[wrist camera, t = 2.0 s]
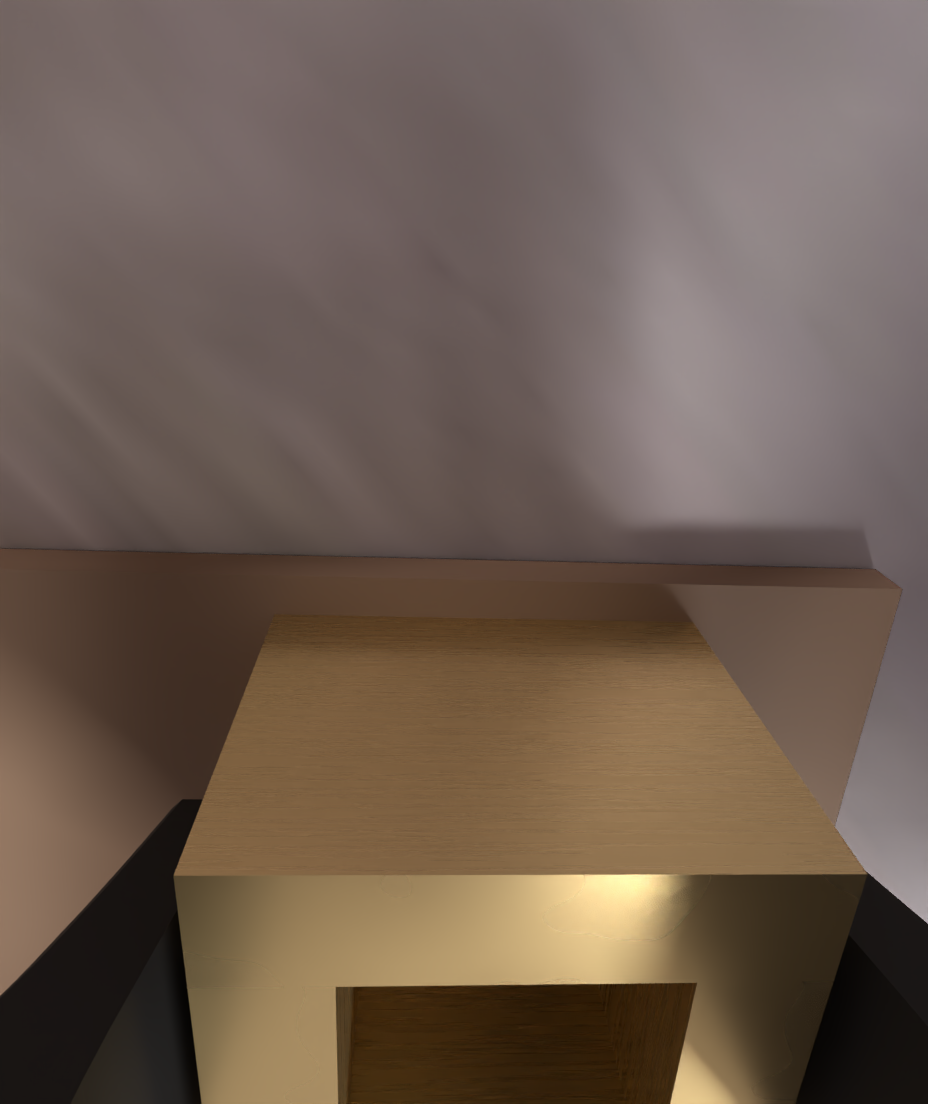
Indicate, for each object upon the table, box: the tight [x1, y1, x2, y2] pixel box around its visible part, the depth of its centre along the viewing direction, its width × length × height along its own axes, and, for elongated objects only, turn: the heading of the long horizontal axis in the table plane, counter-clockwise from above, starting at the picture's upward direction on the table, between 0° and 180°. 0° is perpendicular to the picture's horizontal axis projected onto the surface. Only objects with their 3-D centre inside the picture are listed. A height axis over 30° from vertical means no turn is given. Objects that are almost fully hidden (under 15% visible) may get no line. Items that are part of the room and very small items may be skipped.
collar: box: [174, 614, 867, 1104], centre depth 8 cm, size 5×5×4 cm
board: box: [0, 549, 902, 995], centre depth 12 cm, size 20×18×1 cm
